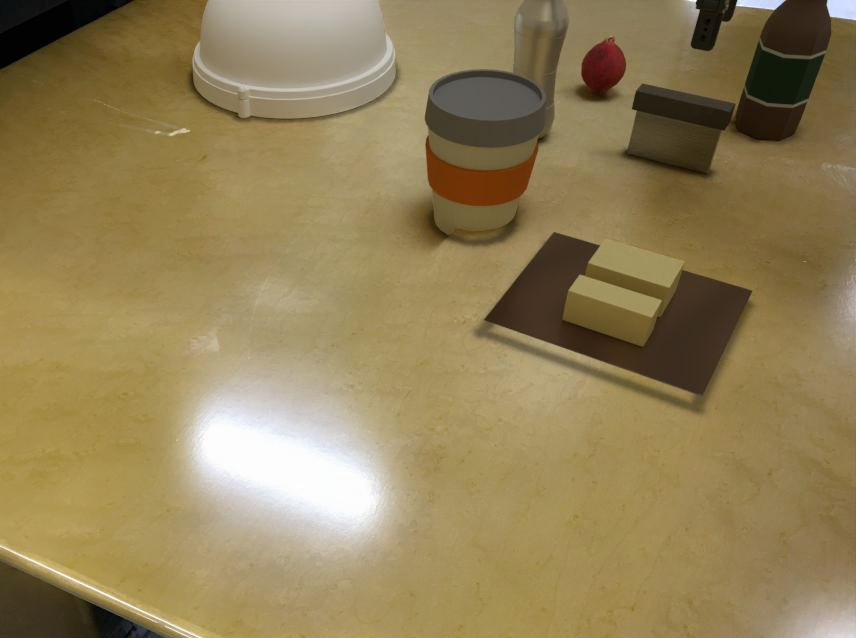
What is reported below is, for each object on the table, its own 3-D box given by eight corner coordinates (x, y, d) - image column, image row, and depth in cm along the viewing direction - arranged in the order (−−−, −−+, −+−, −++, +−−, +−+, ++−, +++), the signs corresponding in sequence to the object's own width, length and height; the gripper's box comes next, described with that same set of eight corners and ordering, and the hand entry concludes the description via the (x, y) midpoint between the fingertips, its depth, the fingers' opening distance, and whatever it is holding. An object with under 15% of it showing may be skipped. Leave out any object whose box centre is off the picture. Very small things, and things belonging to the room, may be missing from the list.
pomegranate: (599, 106, 122) (611, 48, 117) (567, 92, 126) (578, 34, 120) (628, 94, 125) (641, 37, 119) (596, 80, 128) (607, 24, 123)
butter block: (675, 291, 90) (685, 261, 87) (660, 317, 87) (669, 287, 84) (598, 267, 93) (605, 237, 91) (581, 292, 90) (587, 262, 88)
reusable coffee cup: (511, 260, 97) (530, 131, 86) (402, 235, 101) (408, 109, 90) (541, 203, 105) (562, 78, 95) (439, 182, 109) (448, 60, 99)
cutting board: (748, 302, 91) (753, 290, 90) (697, 408, 80) (702, 396, 79) (551, 242, 99) (553, 231, 98) (481, 331, 88) (483, 319, 87)
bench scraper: (715, 168, 110) (736, 103, 104) (710, 177, 108) (730, 111, 102) (627, 146, 114) (642, 83, 108) (620, 155, 113) (635, 90, 107)
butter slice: (653, 330, 86) (662, 299, 83) (643, 347, 84) (652, 317, 81) (573, 303, 89) (579, 274, 86) (561, 320, 87) (568, 290, 84)
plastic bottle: (525, 151, 114) (549, -13, 100) (489, 130, 118) (508, -30, 104) (561, 137, 116) (590, -25, 103) (525, 117, 121) (549, -41, 107)
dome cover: (257, 19, 148) (251, -74, 138) (428, 47, 138) (434, -51, 128) (149, 98, 128) (133, -4, 118) (340, 138, 118) (340, 30, 108)
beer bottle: (721, 117, 119) (781, -81, 103) (775, 110, 120) (843, -86, 104) (752, 144, 114) (821, -60, 97) (808, 138, 115) (886, -66, 98)
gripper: (793, -123, 75) (734, 67, 87) (819, -160, 84) (762, 16, 95) (702, -133, 78) (656, 52, 89) (736, -168, 87) (690, 4, 98)
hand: (711, 33), depth 92 cm, fingers open, 8 cm apart
